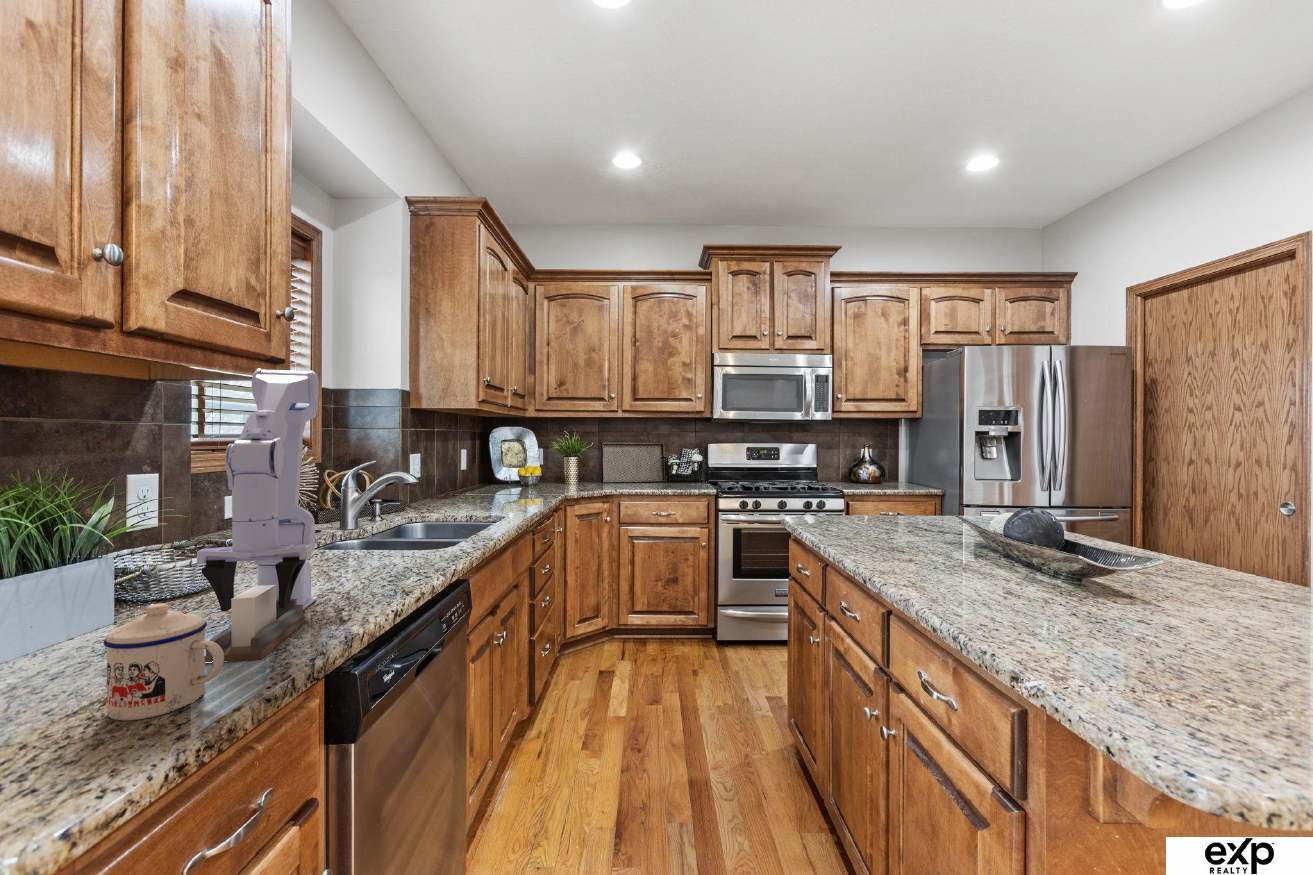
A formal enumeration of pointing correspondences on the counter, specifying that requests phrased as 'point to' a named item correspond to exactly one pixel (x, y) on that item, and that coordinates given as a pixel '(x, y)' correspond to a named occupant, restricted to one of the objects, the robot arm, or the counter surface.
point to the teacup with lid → (157, 663)
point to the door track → (261, 635)
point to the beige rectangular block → (252, 613)
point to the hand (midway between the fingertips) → (256, 608)
